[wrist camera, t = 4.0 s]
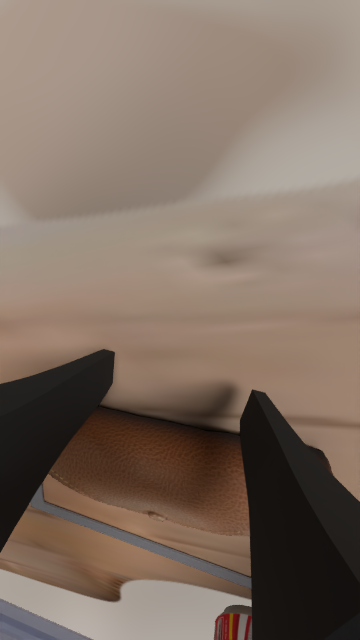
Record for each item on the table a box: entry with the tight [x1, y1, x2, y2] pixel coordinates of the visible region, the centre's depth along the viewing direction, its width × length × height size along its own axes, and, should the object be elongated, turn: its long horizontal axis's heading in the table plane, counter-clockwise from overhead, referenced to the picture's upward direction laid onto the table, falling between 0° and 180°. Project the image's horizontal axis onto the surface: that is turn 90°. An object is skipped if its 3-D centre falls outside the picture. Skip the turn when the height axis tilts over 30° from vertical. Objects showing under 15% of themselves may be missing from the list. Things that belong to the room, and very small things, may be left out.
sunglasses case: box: [48, 407, 333, 536], centre depth 13 cm, size 18×7×7 cm
